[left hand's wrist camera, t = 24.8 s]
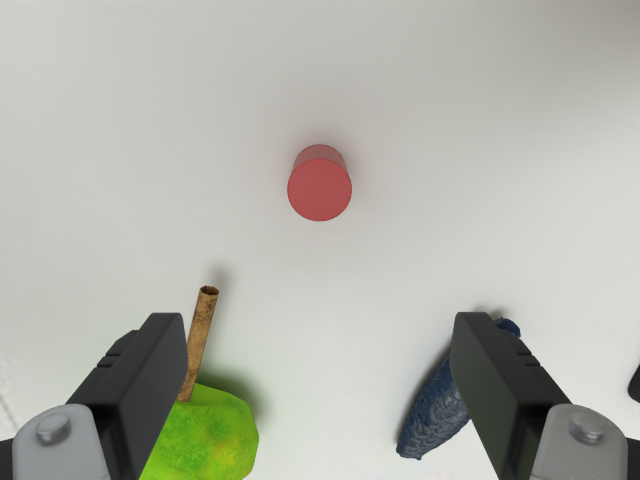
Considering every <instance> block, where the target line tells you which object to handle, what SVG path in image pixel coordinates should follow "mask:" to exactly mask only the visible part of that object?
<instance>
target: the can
mask: <svg viewBox="0 0 640 480" xmlns="http://www.w3.org/2000/svg"><path fill="white" fill-rule="evenodd" d="M287 193H288V198H289V201H290V203H291V205H292V207H293V208H294V209H295V211H296V212H297V213H298V214H300V215H301V216H303V217H304V218H306V219H309V220H313V221H327V220H330V219H333V218H335V217H337V216H338V215H339V214H341V213H342V212H343V211H344V210H345V208H346V207H347V205H348V203H349V201H350V198H351V193H352V187H351V181H350V178H349V175H348V172H347V169H346V166H345V163H344V160H343V158H342V157H341V155H340V154H339V153H338V152H337V151H336V150H335V149H333V148H332V147H329V146H326V145H313V146H310V147H308V148H306V149H304V150H303V151H302V152H301V153H300V154H299V156H298V157H297V159H296V161H295V164H294V167H293V170H292V172H291V175H290V178H289V182H288V187H287Z"/></svg>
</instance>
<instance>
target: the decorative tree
mask: <svg viewBox="0 0 640 480" xmlns="http://www.w3.org/2000/svg"><path fill="white" fill-rule="evenodd" d="M218 294H219V291H218V290H217V289H216V288H215V287H211V286H204V287H202V288H200V291H199V295H198V300H197V304H196V308H195V312H194V316H193V320H192V324H191V328H190V332H189V336H188V340H187V351H188V360H189V362H188V372H187V376H186V379H185V381H184V383H183V386H182V388H181V390H180V392H179V394H178V396H177V398H176V401H175V403H174V405H173V407H172V409H171V411H170V414H169V416H168V418H167V420H166V422H165V424H164V426H163V429H162V431H161V433H160V435H159V437H158V439H157V442H156V444H155V446H154V448H153V450H152V452H151V454H150V457H149V459H148V461H147V463H146V465H145V467H144V470H143V472H142V474H141V476H140V478H139V480H242V479H243V478H245V477H246V476H247V475H248V474H249V473H250V472H251V471H252V468H253V466H254V461H255V457H256V452H257V447H258V443H259V434H258V431H257V428H256V425H255V421H254V418H253V415H252V412H251V409H250V407H249V404H248V403H246V402H245V401H243V400H241V399H240V398H238V397H236V396H234V395H232V394H230V393H228V392H225V391H221V390H218V389H214V388H211V387H208V386H204V385H201V384H197V383H195V381H196V377H197V373H198V370H199V366H200V362H201V358H202V354H203V351H204V347H205V343H206V339H207V335H208V332H209V328H210V324H211V320H212V316H213V313H214V309H215V305H216V301H217V297H218Z"/></svg>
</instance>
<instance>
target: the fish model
mask: <svg viewBox="0 0 640 480" xmlns="http://www.w3.org/2000/svg"><path fill="white" fill-rule="evenodd" d="M493 322H494V324H495V325H496V326H497V328H498V329H506V330H507V331H509V332H510V333H511V334H513V335H514V336H516V337H517V338H520V336H521V335H520V329H519V327H518V326H517V325H516V324H515V323H514V322H512V321H511V320H509V319H503V317H502V318H500V319H497V320H495V321H493ZM470 419H471V418H470V415H469V413H468V411H467V409H466V407H465V404H464V402H463V400H462V398H461V396H460V394H459V391H458V389H457V387H456V385H455V383H454V381H453V378H452V375H451V371H450V353H449V355H448V356H447V357H446V358H445V359H444V361H443V362H442V363H441V365H440V366H439V367H438V368H437V369H436V370H435V372H434V373H433V374H432V375H431V377H430V378H429V380H428V381H427V383H426V384H425V386H424V387H423V388H422V390H421V391H420V393H419V394H418V396H417V398H416V401H415V403H414V404H413V407H412V410H411V412H410V414H409V417H408V419H407V421H406V423H405V425H404V426H403V429H402V433H401V436H400V438H399V440H398V444H397V447H396V452H397V453H399V455H400V456H401V457H404V458H416V459H417V460H421V457H422V456H423V455H424V454H425V453H427V452H429V451H430V450H432V449H435V448H437V447H438V446H440V445H441V444H443V443H444V442H446V441H447V440H449V439H451V438H452V437H453V436H454V435H455V434H457V433H458V432H459V431H460V429H461V428H462V427H463V426H465V425H466V424H467V423H468V421H469V420H470Z"/></svg>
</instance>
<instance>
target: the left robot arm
mask: <svg viewBox="0 0 640 480" xmlns="http://www.w3.org/2000/svg"><path fill="white" fill-rule="evenodd" d="M188 362H189V360H188V351H187V344H186V337H185V331H184V324H183V318H182V315H181V314H180V313H152V314H151V315H150V316H149V317H148V319H147V320H146V321H145V322H144V324H143V325H142V326H141V328H140V329H139V330H132V331H130V332H129V333H127V334H126V335H124V336H123V337H121V338H120V339H118V340H117V341H116V342H115V343H114V344H113V345H112V347H111V348H110V349H109V350H108V352H107V353H106V356H105V357H103V358H102V359H101V360H100V361H99V363H98V364H97V367H96V368H94V369H93V370H92V371H91V373H90V374H89V375H88V376H87V378H86V379H85V380H84V381H83V382H82V384H81V385H80V386H79V387H78V389H77V390H76V391H75V392H74V394H73V395H72V396H71V397H70V398H69V400H68V401H67V402H66V403H65V405H61V406H57V407H54V408H51V409H49V410H46V411H44V412H42V413H40V414H39V415H37V416H35V417H34V418H32V419H31V420H30V421H28V422H27V423H26V424H25V425H24V426H23V427H22V428H21V429H20V430H19V431H18V432H17V434H16V436H15V437H14V438H11V439H8V440H4V441H0V480H139V478H140V476H141V474H142V472H143V470H144V467H145V465H146V463H147V461H148V459H149V457H150V454H151V452H152V450H153V448H154V446H155V444H156V442H157V439H158V437H159V435H160V433H161V431H162V429H163V426H164V424H165V422H166V420H167V418H168V416H169V414H170V411H171V409H172V407H173V405H174V403H175V401H176V398H177V396H178V394H179V392H180V390H181V388H182V386H183V383H184V381H185V379H186V376H187V372H188ZM450 371H451V375H452V378H453V381H454V383H455V385H456V387H457V389H458V391H459V394H460V396H461V398H462V400H463V402H464V404H465V407H466V409H467V411H468V413H469V415H470V418H471V420H472V422H473V424H474V426H475V428H476V431H477V433H478V435H479V437H480V439H481V441H482V444H483V446H484V448H485V450H486V452H487V455H488V457H489V459H490V461H491V463H492V465H493V468H494V470H495V472H496V474H497V476H498V479H499V480H640V441H639V440H635V439H631V438H627V437H625V436H624V434H623V432H622V431H621V430H620V429H619V428H618V427H617V426H616V425H615V424H614V423H613V422H612V421H610V420H609V419H608V418H606V417H605V416H603V415H601V414H600V413H598V412H596V411H594V410H591V409H589V408H586V407H583V406H579V405H574V404H572V403H571V401H570V400H569V399H568V398H567V396H566V395H565V394H564V393H563V391H562V390H561V389H560V388H559V386H558V385H557V384H556V383H555V381H554V380H553V379H552V378H551V376H550V375H549V374H548V373H547V371H546V370H545V369H544V368H543V367H541V366H540V363H539V361H538V360H537V359H536V358H535V356H532V353H531V352H530V350H529V349H528V348H527V347H526V345H525V344H524V343H523V342H522V340H520V339H519V338H517V337H516V336H514V335H513V334H511V333H510V332H509V331H507V330H506V329H498V328H497V326H496V325H495V324H494V322H493V321H492V320H491V318H490V317H489V316H488V314H487V313H485V312H458V313H457V315H456V317H455V323H454V330H453V336H452V343H451V350H450Z"/></svg>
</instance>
